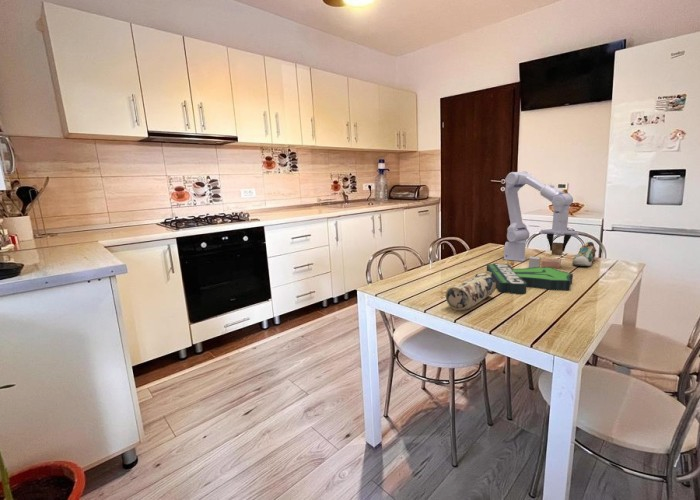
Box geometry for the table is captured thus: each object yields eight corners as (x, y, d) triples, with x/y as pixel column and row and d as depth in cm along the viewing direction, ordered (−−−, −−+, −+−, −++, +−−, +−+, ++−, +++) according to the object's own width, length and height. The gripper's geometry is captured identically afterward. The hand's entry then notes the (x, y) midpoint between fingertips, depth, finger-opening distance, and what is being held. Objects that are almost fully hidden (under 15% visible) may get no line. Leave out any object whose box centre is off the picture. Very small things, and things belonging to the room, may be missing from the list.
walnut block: (551, 254, 154) (552, 244, 153) (552, 252, 157) (553, 242, 156) (561, 255, 151) (562, 244, 150) (562, 253, 155) (563, 243, 153)
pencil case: (474, 292, 129) (475, 268, 127) (496, 297, 123) (497, 272, 121) (443, 309, 114) (443, 281, 112) (466, 316, 108) (467, 287, 106)
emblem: (485, 263, 155) (557, 264, 149) (485, 272, 156) (557, 273, 149) (500, 283, 126) (591, 285, 120) (500, 294, 127) (589, 297, 121)
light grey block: (528, 268, 157) (529, 258, 156) (530, 266, 160) (530, 256, 159) (538, 269, 155) (539, 259, 153) (539, 267, 158) (540, 257, 157)
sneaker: (569, 266, 157) (571, 246, 155) (578, 258, 172) (580, 239, 170) (588, 269, 152) (591, 248, 150) (596, 260, 167) (599, 240, 165)
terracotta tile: (541, 267, 160) (541, 261, 159) (544, 263, 165) (544, 257, 164) (558, 269, 155) (558, 262, 155) (560, 265, 161) (561, 259, 160)
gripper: (540, 221, 152) (537, 250, 155) (579, 223, 144) (575, 254, 147) (542, 219, 158) (540, 247, 161) (580, 221, 149) (576, 250, 152)
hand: (557, 250), depth 154 cm, fingers closed on walnut block, 4 cm apart
